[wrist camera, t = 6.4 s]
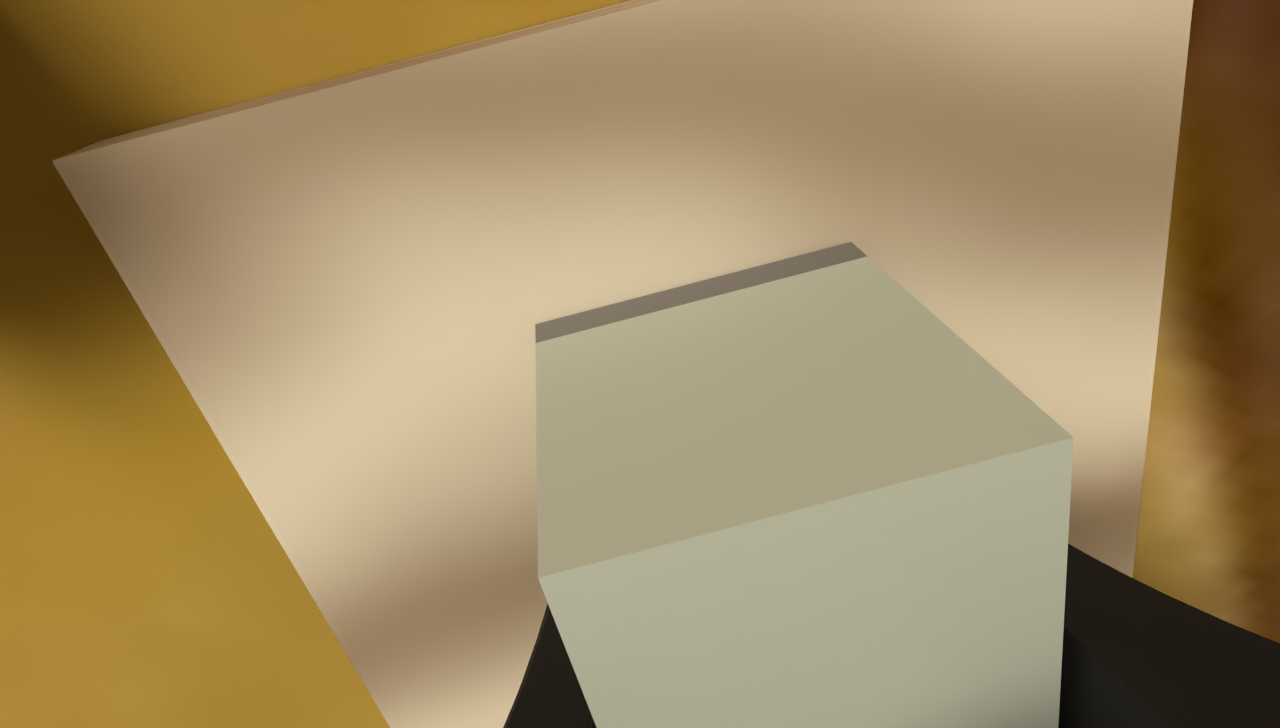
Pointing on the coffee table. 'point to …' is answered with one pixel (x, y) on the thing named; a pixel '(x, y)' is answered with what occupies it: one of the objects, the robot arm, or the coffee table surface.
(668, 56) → the birch board
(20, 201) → the coffee table surface
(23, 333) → the coffee table surface
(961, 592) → the block
